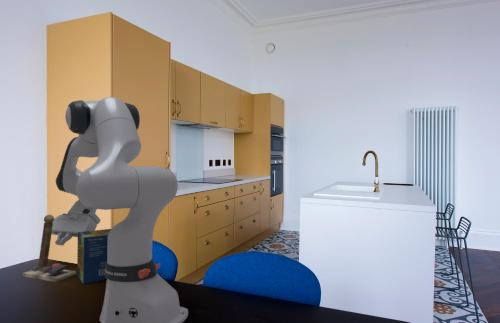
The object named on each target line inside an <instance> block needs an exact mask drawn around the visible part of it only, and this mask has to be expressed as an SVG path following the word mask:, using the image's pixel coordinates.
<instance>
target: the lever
mask: <svg viewBox="0 0 500 323" xmlns="http://www.w3.org/2000/svg"><path fill="white" fill-rule="evenodd" d="M54 219H55V217H54V216H53V215H52V214H46V215H45V216H44V218H43V221H44V223H43V229H42V234H41V235H42V237H41V244H40V250H39V251H40V252H39V258H38V264H37V266H38V268H37V269H38V270H43V269H44V268H47V267H48V263H49V257H50V254H49V253H50V248H51V240H52V226H53V223H52V222H53V221H54Z"/></svg>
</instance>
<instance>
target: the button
mask: <svg viewBox="0 0 500 323" xmlns="http://www.w3.org/2000/svg"><path fill="white" fill-rule="evenodd" d="M59 265H61V263H52V264H51V267H52V269H53V268H55V267H57V266H59Z"/></svg>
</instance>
